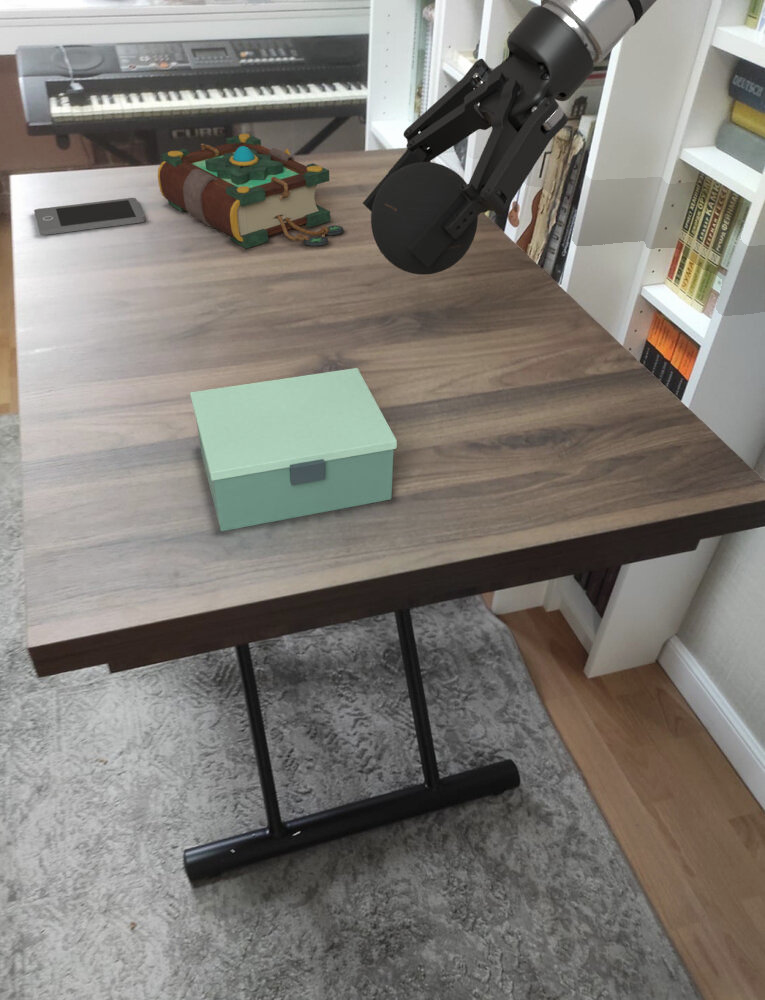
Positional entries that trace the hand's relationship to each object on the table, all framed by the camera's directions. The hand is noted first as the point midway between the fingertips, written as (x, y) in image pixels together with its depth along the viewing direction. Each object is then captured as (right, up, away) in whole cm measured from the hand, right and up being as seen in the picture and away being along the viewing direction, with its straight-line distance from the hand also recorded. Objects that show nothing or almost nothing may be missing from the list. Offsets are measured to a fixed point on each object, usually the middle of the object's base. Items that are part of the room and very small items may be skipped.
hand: (394, 234), depth 78 cm
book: (-19, +18, +48) cm, 55 cm away
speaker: (+3, -2, +4) cm, 5 cm away
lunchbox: (-10, -22, +2) cm, 25 cm away
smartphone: (-45, +17, +46) cm, 66 cm away
